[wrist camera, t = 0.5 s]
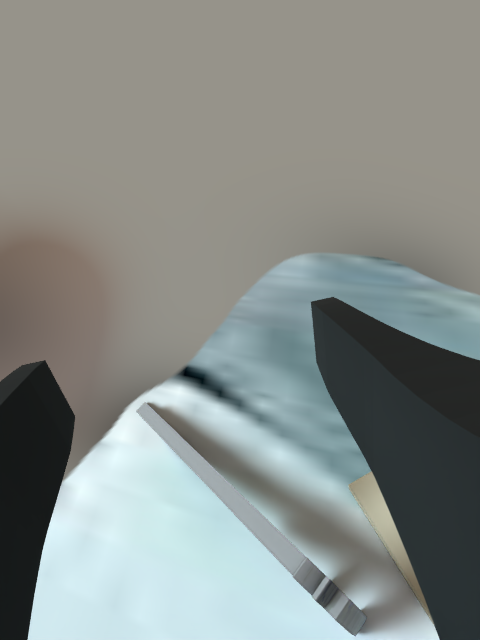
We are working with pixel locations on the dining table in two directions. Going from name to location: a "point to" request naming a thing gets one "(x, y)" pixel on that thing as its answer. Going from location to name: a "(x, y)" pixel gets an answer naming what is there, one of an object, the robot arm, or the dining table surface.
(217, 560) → the dining table surface
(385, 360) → the robot arm
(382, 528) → the post board
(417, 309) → the dining table surface
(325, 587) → the caliper
